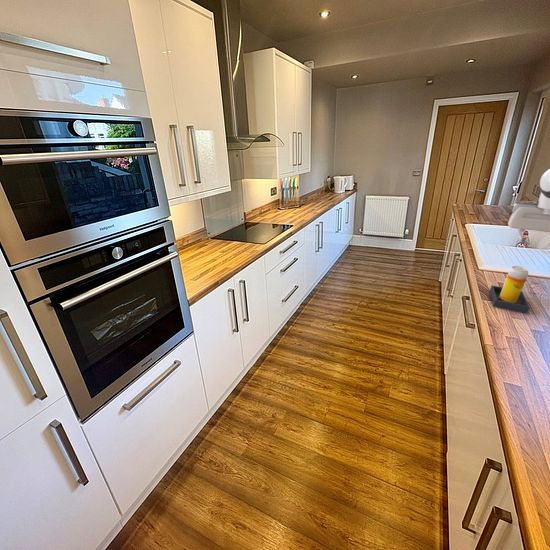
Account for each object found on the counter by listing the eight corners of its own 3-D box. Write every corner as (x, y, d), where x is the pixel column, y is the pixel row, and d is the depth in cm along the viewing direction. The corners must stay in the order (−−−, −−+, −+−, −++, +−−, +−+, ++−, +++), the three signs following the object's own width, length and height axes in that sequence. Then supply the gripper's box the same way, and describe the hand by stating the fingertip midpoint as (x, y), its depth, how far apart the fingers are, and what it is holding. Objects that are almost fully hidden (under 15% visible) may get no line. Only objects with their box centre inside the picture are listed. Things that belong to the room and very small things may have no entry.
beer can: (515, 305, 120) (528, 273, 114) (497, 300, 124) (509, 268, 117) (516, 300, 124) (530, 268, 118) (499, 295, 128) (511, 264, 121)
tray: (519, 297, 128) (522, 290, 126) (526, 313, 116) (529, 307, 114) (489, 291, 133) (491, 285, 131) (493, 306, 121) (495, 300, 119)
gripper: (517, 201, 94) (503, 241, 100) (603, 208, 85) (581, 251, 91) (513, 198, 99) (500, 236, 105) (594, 204, 90) (575, 245, 96)
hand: (538, 243), depth 98 cm, fingers open, 8 cm apart
